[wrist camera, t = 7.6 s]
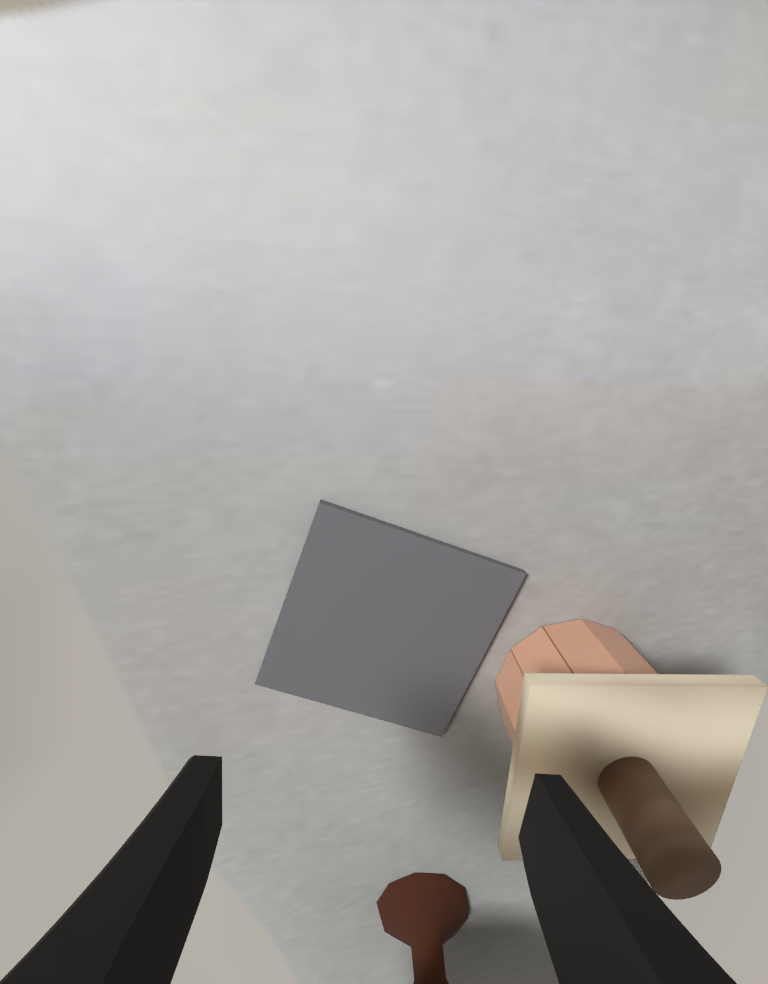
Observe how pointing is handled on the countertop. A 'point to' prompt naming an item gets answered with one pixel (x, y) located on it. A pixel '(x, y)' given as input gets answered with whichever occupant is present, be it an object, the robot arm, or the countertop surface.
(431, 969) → the ice cream bowl
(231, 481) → the countertop surface
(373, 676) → the mat
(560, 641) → the bowl
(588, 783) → the cover
